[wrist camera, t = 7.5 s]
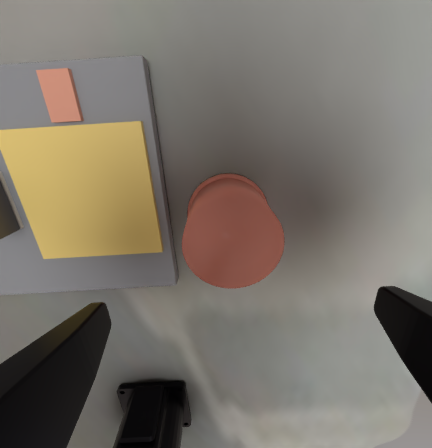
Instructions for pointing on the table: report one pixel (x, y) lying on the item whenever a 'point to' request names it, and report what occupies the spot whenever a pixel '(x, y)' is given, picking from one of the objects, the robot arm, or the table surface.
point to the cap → (231, 232)
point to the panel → (82, 178)
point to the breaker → (6, 216)
